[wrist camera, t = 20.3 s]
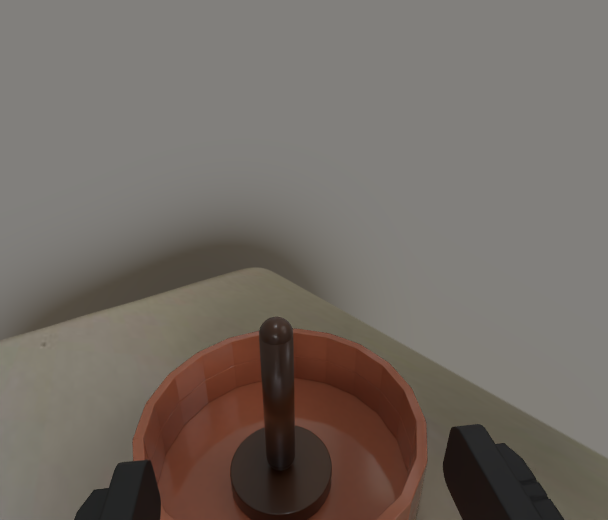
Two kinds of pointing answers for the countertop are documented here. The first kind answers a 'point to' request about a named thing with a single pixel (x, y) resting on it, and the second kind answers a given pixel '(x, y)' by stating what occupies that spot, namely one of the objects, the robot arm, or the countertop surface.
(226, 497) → the bowl
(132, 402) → the countertop surface
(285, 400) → the paper towel holder
